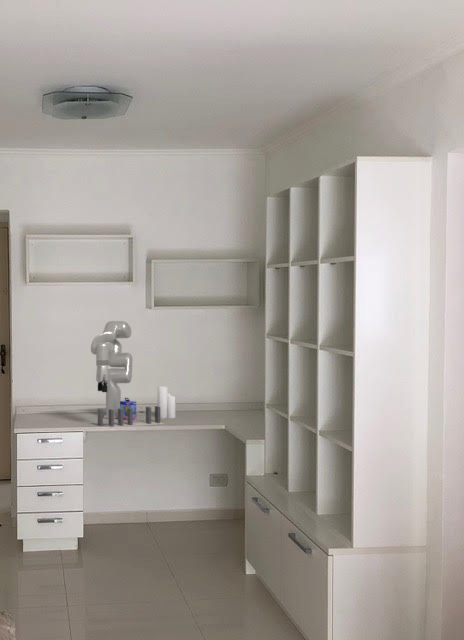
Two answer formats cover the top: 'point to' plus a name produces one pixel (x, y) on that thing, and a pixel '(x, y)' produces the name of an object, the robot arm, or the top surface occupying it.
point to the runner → (134, 424)
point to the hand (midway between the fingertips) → (102, 391)
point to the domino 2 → (111, 417)
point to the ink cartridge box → (128, 404)
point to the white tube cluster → (166, 403)
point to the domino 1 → (100, 417)
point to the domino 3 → (120, 416)
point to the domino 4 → (129, 416)
